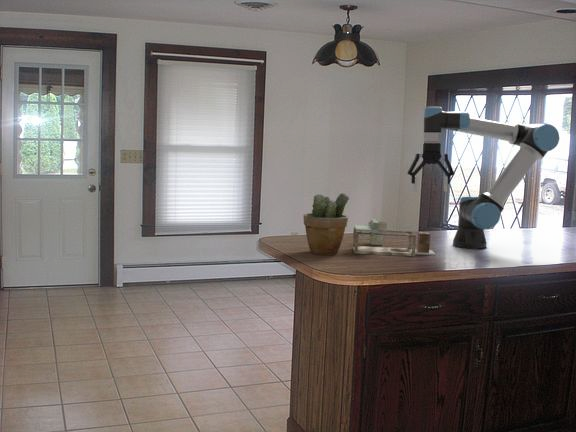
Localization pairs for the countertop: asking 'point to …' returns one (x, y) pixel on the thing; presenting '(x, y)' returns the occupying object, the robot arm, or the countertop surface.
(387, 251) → the grey rectangular frame
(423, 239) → the block
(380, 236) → the mug
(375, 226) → the cover
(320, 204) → the potted plant
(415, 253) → the coaster
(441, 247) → the countertop surface
